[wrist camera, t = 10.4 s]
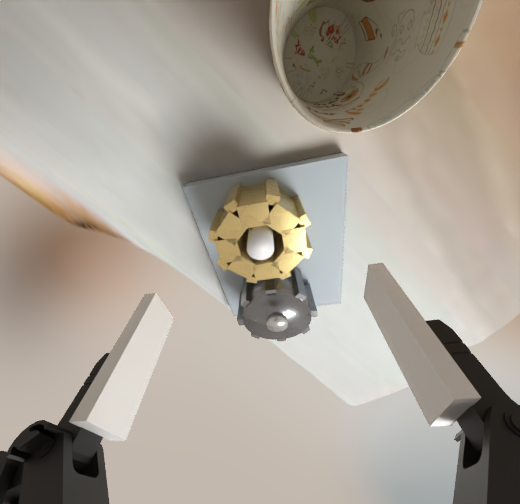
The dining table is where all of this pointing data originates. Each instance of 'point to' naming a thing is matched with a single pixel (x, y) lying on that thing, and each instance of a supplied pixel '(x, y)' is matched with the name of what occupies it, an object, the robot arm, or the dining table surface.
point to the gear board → (261, 238)
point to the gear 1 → (259, 214)
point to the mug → (364, 55)
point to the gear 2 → (277, 307)
